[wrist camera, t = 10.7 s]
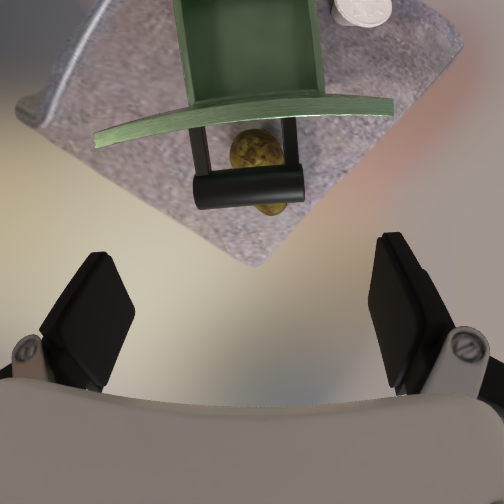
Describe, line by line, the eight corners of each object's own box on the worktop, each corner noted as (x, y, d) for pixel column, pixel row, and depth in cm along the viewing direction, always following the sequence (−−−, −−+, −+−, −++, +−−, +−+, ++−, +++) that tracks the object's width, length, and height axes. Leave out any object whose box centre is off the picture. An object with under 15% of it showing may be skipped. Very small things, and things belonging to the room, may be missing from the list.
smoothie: (358, -8, 27) (396, -36, 15) (372, 32, 30) (416, 20, 19) (314, -3, 28) (335, -33, 17) (329, 38, 31) (357, 24, 20)
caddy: (195, -8, 28) (169, -31, 19) (297, -20, 27) (307, -49, 17) (210, 98, 38) (189, 110, 28) (310, 89, 36) (325, 96, 26)
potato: (230, 203, 46) (223, 229, 40) (235, 120, 39) (227, 131, 33) (284, 208, 46) (287, 234, 40) (295, 125, 39) (300, 138, 33)
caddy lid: (92, 133, 12) (118, 234, 15) (393, 99, 11) (391, 214, 13) (187, 107, 27) (195, 157, 30) (326, 93, 26) (329, 145, 28)
